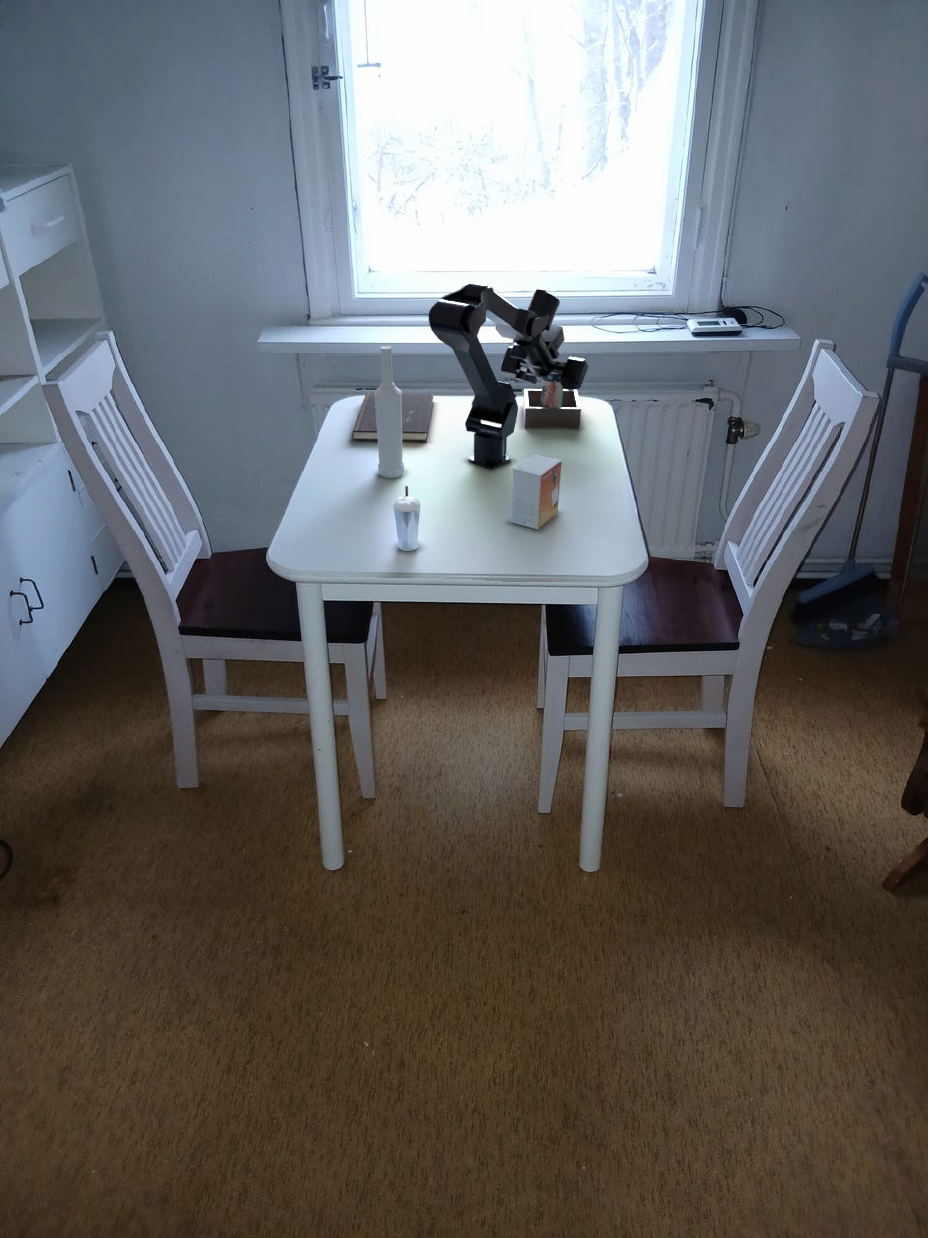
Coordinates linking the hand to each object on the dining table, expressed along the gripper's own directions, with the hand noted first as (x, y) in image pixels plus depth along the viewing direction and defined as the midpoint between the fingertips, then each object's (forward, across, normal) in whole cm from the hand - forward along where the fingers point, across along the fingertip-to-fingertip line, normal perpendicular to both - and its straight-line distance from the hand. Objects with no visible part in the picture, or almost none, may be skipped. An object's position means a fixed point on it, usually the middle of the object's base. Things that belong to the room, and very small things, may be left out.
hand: (554, 385), depth 203 cm
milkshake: (-42, -6, +52) cm, 67 cm away
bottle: (-26, +14, +36) cm, 47 cm away
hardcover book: (-10, +29, +20) cm, 36 cm away
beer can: (+4, 0, +6) cm, 7 cm away
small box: (-28, -20, +38) cm, 51 cm away
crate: (+4, 0, +6) cm, 7 cm away
